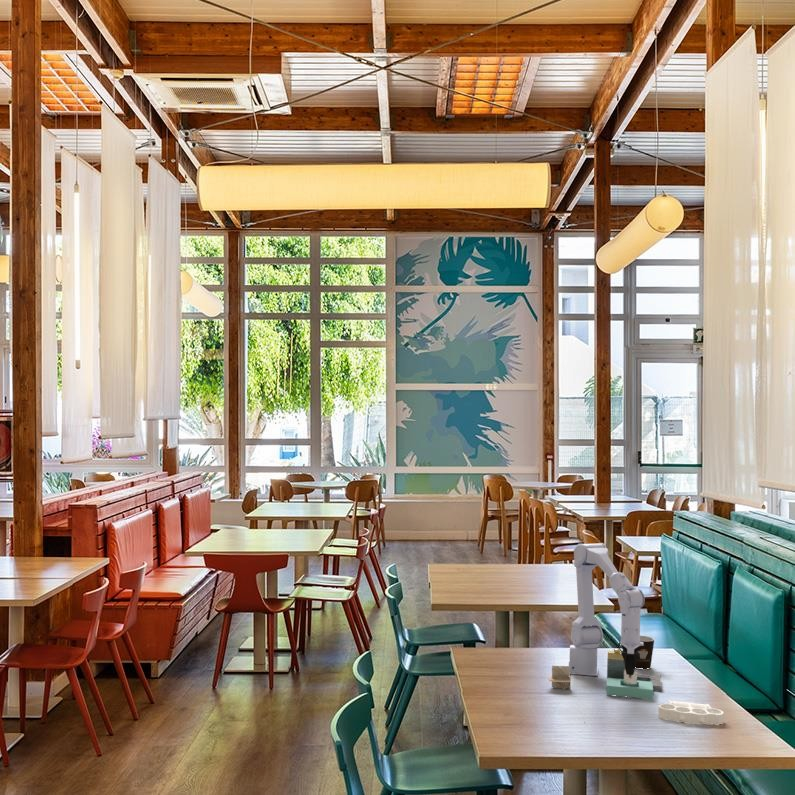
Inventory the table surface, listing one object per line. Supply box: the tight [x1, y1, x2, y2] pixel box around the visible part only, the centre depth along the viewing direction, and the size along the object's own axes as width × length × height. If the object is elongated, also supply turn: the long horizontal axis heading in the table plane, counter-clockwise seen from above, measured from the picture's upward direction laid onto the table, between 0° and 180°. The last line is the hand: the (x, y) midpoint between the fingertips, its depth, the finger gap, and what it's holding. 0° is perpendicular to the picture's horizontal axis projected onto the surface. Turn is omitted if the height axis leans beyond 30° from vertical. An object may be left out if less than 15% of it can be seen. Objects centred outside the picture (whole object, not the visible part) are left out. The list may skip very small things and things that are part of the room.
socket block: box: [606, 657, 663, 692], centre depth 292 cm, size 17×12×7 cm
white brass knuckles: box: [657, 699, 725, 725], centre depth 260 cm, size 3×18×15 cm
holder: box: [606, 677, 654, 700], centre depth 281 cm, size 14×9×3 cm, turn 76°
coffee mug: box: [617, 635, 655, 670], centre depth 313 cm, size 12×9×10 cm
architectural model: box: [547, 665, 572, 690], centre depth 284 cm, size 3×7×7 cm, turn 88°
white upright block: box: [624, 670, 638, 687], centre depth 281 cm, size 4×4×7 cm
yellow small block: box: [607, 648, 624, 660], centre depth 294 cm, size 6×2×3 cm, turn 76°
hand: (629, 671), depth 282 cm, fingers open, 7 cm apart
